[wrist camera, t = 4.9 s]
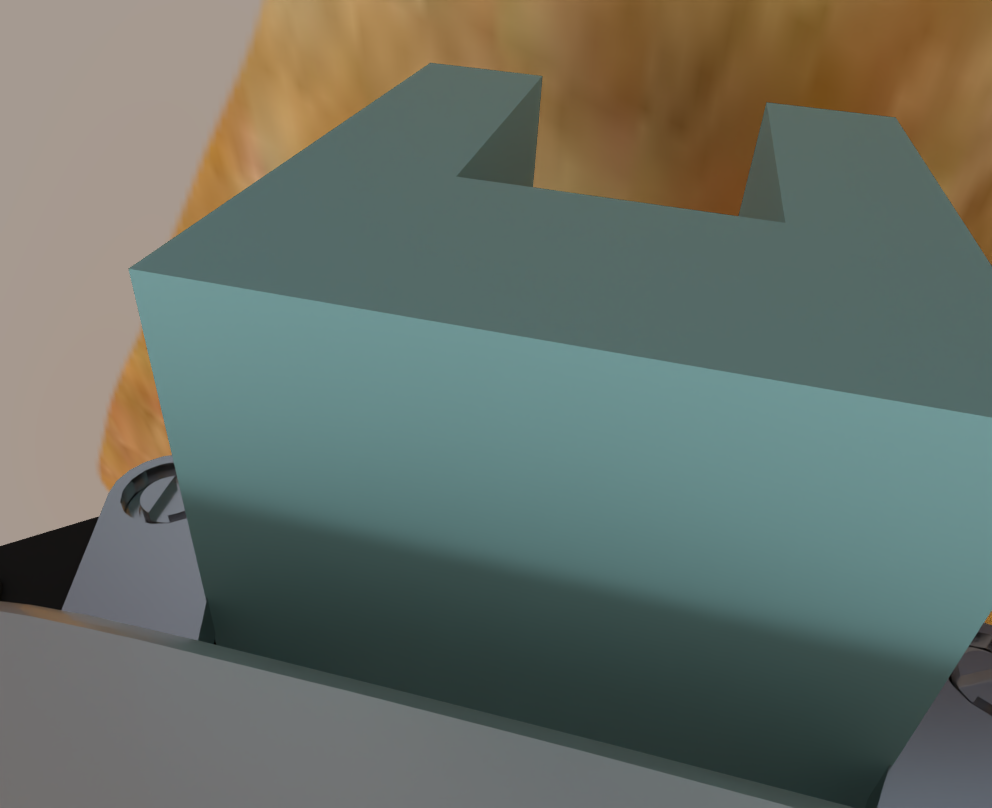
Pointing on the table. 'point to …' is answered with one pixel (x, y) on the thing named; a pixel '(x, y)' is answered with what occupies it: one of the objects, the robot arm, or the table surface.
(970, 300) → the teal block
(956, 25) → the table surface
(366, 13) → the table surface
